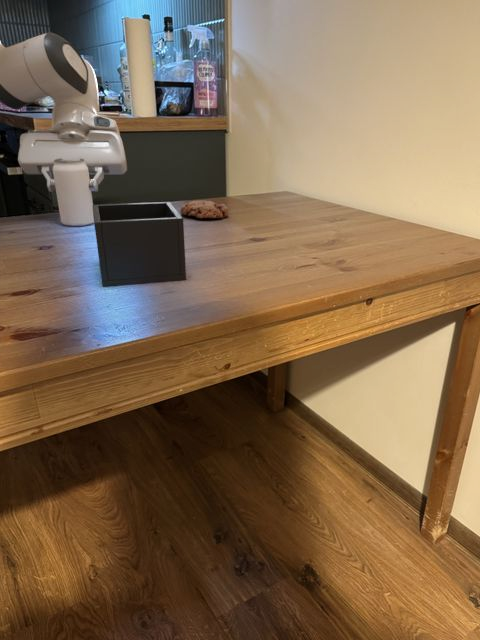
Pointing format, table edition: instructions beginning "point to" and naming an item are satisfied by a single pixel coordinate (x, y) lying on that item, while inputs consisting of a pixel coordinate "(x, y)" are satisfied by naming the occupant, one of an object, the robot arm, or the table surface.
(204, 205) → the cookie
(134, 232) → the dark grey open box
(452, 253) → the table surface
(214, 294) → the table surface
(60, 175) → the can
